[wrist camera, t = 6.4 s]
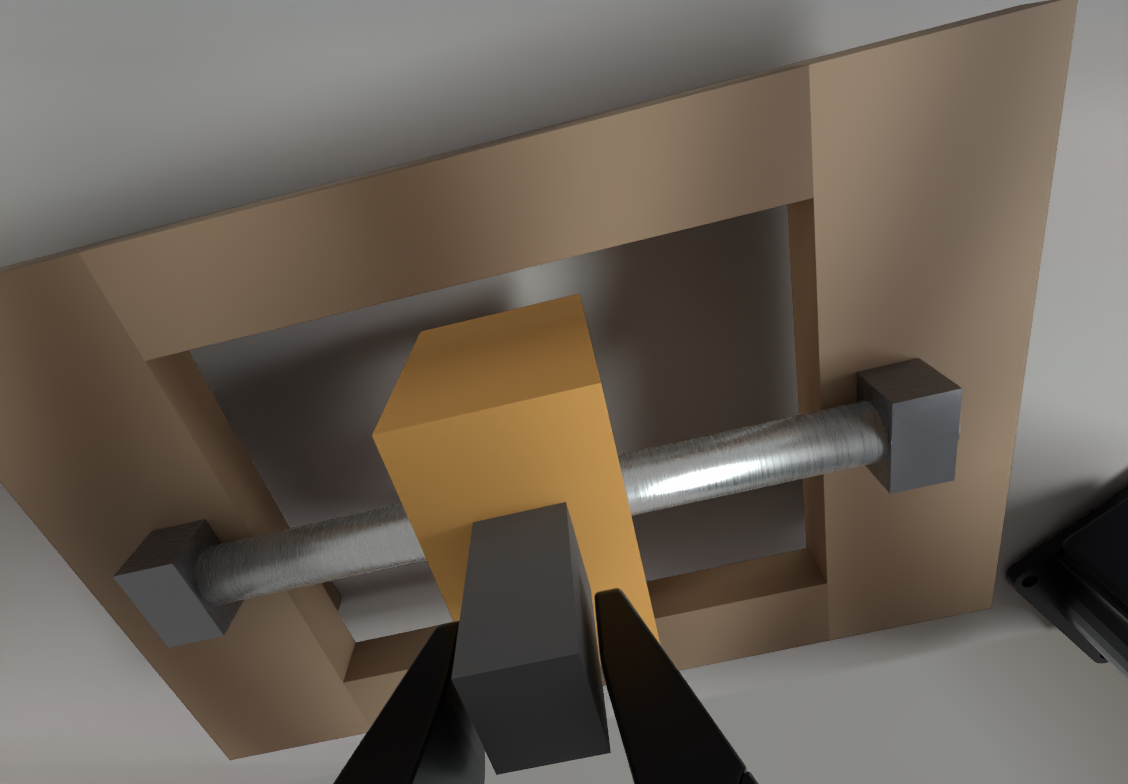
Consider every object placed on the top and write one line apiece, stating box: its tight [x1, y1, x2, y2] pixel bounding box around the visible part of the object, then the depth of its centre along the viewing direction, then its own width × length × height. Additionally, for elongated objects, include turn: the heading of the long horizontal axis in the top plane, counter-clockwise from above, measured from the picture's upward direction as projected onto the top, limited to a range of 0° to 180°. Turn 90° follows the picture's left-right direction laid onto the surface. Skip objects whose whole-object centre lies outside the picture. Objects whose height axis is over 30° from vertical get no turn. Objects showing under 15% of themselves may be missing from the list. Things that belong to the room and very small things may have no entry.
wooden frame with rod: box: [0, 0, 1078, 760], centre depth 14 cm, size 20×13×4 cm, turn 103°
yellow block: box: [372, 294, 660, 775], centre depth 11 cm, size 4×6×8 cm, turn 13°
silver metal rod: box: [113, 358, 963, 648], centre depth 12 cm, size 16×2×1 cm, turn 103°
